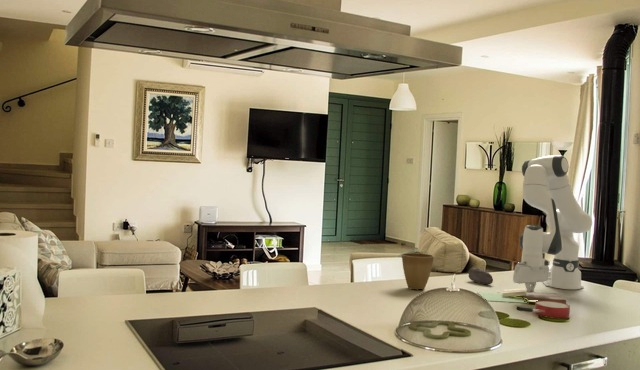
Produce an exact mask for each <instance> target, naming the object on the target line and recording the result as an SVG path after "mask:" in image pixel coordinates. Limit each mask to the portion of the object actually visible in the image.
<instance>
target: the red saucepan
mask: <svg viewBox="0 0 640 370" xmlns="http://www.w3.org/2000/svg"><path fill="white" fill-rule="evenodd" d="M534 305H535V306H534V308H532V307H526V306H516V311H521V312H528V313H533V312H534V313H535V314H536V315H538V316H540V315H542V316H541V317H543V316H547V317H546V318H548V317H553V318H552V319H558V318H564V319H568V318H569V317H570V315H571V314H570V312H571V306H570V305H569V304H568V303H566V304H565V303H561V302H555V301H536V302H535V303H534Z"/></svg>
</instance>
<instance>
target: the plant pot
mask: <svg viewBox="0 0 640 370" xmlns="http://www.w3.org/2000/svg"><path fill="white" fill-rule="evenodd" d="M434 259H435V255H431V254H429V253H419V252H416V253H415V252H406V253H401V260H402V261H401V262H402V269H403V273H404V279H405V282H406V285H407V288H408V289H409V288H411V289H424V290H425V289H426V286H427V284H428V282H429V278H430V276H431V272H432V268H433V263H434ZM411 289H410V290H411Z"/></svg>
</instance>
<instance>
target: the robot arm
mask: <svg viewBox="0 0 640 370" xmlns="http://www.w3.org/2000/svg"><path fill="white" fill-rule="evenodd" d="M568 171H569V161H568V160H567V158H566V157H565V156H564V155H559V154H556V155H546V156H545V155H544V156H542V157H536V158H533V159H532V158H530V159H527V160H525V161H524V162H523V164H522V165H521V173H522V176H523V181H522V182H523V183H522V197H523V200H524V201H525V203H527V204H528V205H529V206H531V207H533V208H536V209H538V210H540V211H542V212H544V213H545V214H546V217H545V223H546V225H547V226H548V227H549V230H550V231H547V232H546V231H545V232H544V228H543V227H542V226H541V225H539V224H527V225H525V227H524V231H523V232H522V233H521V234H520V235H519V247H520V249H522V251H521V261H518V262H517V263H516V264H515V267H514V271H513V275H512V281H513V283H514V284H524V285H525V288H526V292H528V293H530V292H534V291H535V288H536V285H537V283H543V284H544V286H545V287H551V288H556V289H563V290H581V289H584V285H582V272H581V270H580V269H579V265H580V263H579V261H580V260H579V249H580V245H579V243H578V242H577V240H576V239H575V238H574V235H573V233H574V234H582V233H588V232H589V231H590V230H591V228H592V225H593V219H592V217H591V215H590V214H588V213H587V212H585V210H584V209H583V208H582V207H581V205H580V204H579V202H578V201H577V200H576V197H575V196H574V192H573V190H572V185H571V181H570V179H569V176H568ZM543 254H547V255H553V256H554V258H553V259H552V266H551V267H550V268H549V266H550V264H551V263H550V260H547V259H545V258H544V255H543Z"/></svg>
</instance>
